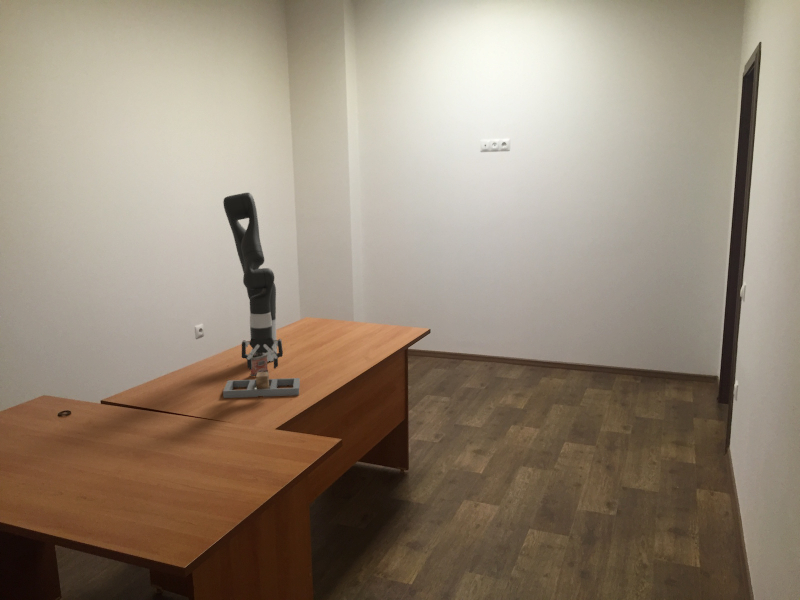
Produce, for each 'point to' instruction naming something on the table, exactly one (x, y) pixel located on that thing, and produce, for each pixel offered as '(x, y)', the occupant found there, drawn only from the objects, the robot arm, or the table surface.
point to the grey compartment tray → (255, 392)
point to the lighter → (259, 363)
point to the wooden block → (262, 380)
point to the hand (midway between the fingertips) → (263, 368)
